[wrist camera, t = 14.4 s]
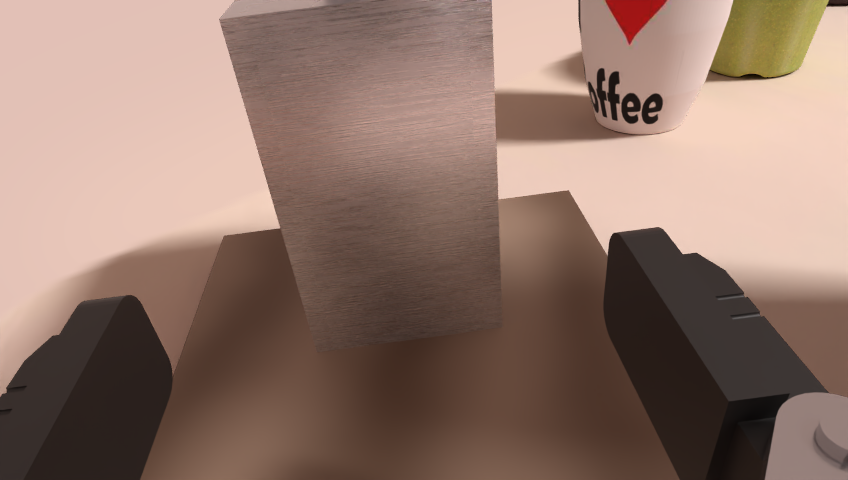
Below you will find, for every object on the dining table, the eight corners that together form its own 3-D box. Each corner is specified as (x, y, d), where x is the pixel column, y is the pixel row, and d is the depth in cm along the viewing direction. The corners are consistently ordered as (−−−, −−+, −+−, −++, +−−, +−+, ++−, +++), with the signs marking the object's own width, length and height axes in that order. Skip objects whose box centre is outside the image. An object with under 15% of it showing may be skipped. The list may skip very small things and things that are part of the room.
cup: (543, 113, 36) (546, -63, 31) (641, 82, 39) (661, -86, 33) (636, 160, 30) (661, -49, 25) (746, 119, 33) (791, -79, 27)
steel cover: (473, 226, 25) (452, -97, 18) (502, 327, 20) (489, -74, 13) (326, 245, 25) (249, -72, 18) (317, 352, 20) (202, -38, 13)
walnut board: (567, 208, 27) (568, 190, 27) (969, 928, 9) (999, 919, 9) (230, 253, 27) (223, 235, 26) (-43, 1079, 9) (-81, 1080, 8)
